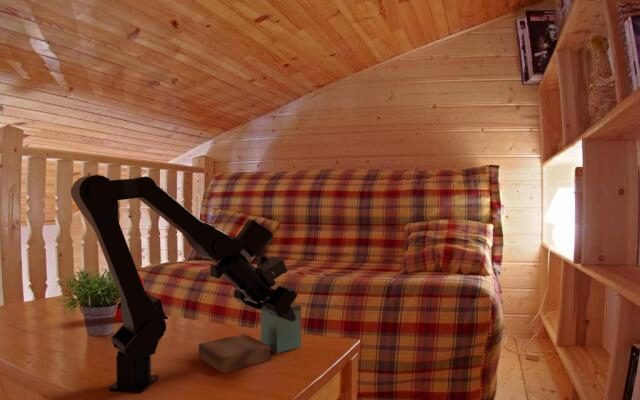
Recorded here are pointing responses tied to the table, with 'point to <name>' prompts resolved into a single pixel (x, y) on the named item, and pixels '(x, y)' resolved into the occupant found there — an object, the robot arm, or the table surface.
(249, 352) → the walnut block
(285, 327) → the tea tin
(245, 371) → the table surface
